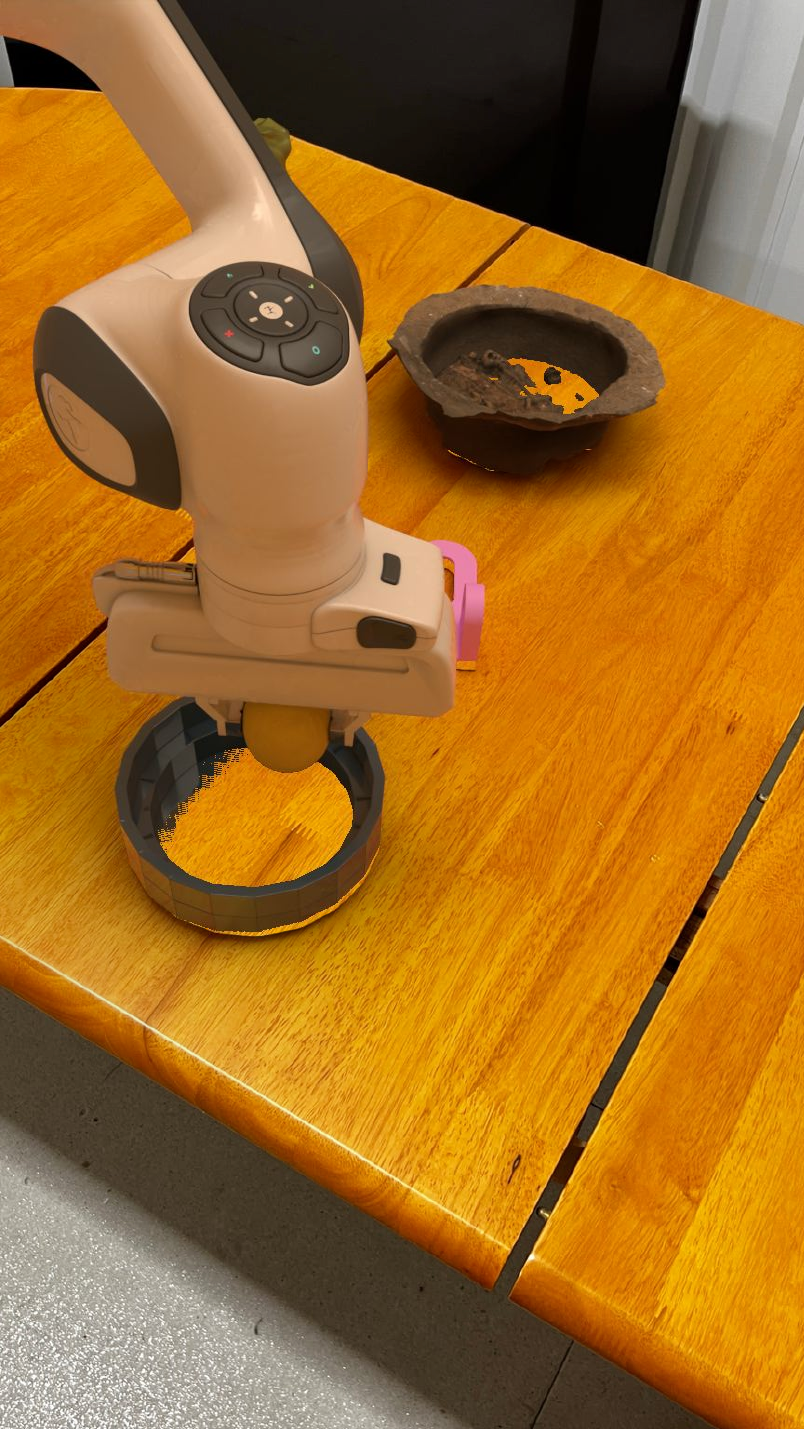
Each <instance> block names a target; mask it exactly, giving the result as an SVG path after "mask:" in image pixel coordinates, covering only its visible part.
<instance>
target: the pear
mask: <svg viewBox="0 0 804 1429" xmlns="http://www.w3.org/2000/svg"><path fill="white" fill-rule="evenodd" d="M252 121H253V122H254V124H255V126H256V127H257V129H258V130H259V132H260V133H261V135H262V137H263V138H264V140H265V141H266V143H267V145H268V146H269V148H270V149H271V151H272V152H273V154H274V155H275V157H276V159H277V160H278V162H279V163H280V165H281V166H282V167H283V169H284V170H285V172H286V173H287V174H288V176H289V177H290V179H291V180H292V178H291V176H290V173H289V172H288V170H287V164H286V163H287V160H288V158H289V157H290V155H291V152H292V149H293V148H292V141H291V136H290V135H291V134H290V131H289V129H287V128H285V127H284V126H282V125H281V124H280V123H278V122H276V121H275V120H273V119H272V118H270V117H267V118H262V117H258V118H256V119H255V120H252Z"/></svg>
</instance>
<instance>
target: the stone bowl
mask: <svg viewBox="0 0 804 1429" xmlns="http://www.w3.org/2000/svg"><path fill="white" fill-rule="evenodd" d="M392 335H393V338H392V339H386V340H385V342H386V343H387V344H388V346H389V347H390V349H391V350H392V351H393V353H395V355H396V356H397V358H398V360H399V362H400V363H401V364H402V367H403V368H404V370H405V371H406V373H407V374H408V376H409V377H410V378H411V379H412V381H413V383H414V384H415V385H416V387H417V388H418V389H419V391H420V392H421V393H423V398H424V403H425V410H426V414H427V416H428V418H429V420H430V422H432V424H433V425H434V428H436V430H438V433H440V436H441V439H442V446H443V448H444V447H445V448H446V449H447V450H450V451H451V452H453V453H455V454H457V455H459V456H461V457H463V458H466V459H468V460H469V461H472V462H473V463H476V464H477V465H476V466H478V465H479V466H480V467H479V466H478V467H479V468H481V467H483V468H487V469H489V470H494V471H496V472H502V471H503V472H505V473H509V474H513V475H521V476H525V475H530V474H536V473H539V472H541V471H542V469H543V468H544V466H545V464H546V463H547V462H548V461H549V460H556V461H567V460H569V459H570V458H572V457H573V456H577V455H579V454H581V453H582V452H584V451H586V450H585V449H593V450H595V449H596V448H597V447H598V446H600V444H601V442H602V441H603V438H604V436H605V434H606V433H607V430H608V428H609V426H610V424H611V421H612V420H615V419H622V418H624V417H627V416H630V415H633V414H637V413H639V412H641V411H644V410H646V409H649V408H651V407H653V406H655V405H657V404H658V403H659V402H658V401H657V400H656V399H657V398H658V397H660V394H658V393H659V392H660V391H661V390H663V389H665V387H666V378H665V376H664V371H663V370H664V369H663V368H662V364H661V363H660V361H659V357H658V349H657V348H656V347H655V346H654V345H653V343H652V342H651V341H650V340H649V339H647V337H646V335H645V334H644V333H643V331H641V330H640V329H638V328H637V326H636V324H634V323H633V322H632V321H631V320H628V319H626V318H623V317H621V316H618V315H615V314H614V313H613V312H612V311H610V310H608V309H606V308H604V307H602V306H599V305H597V304H594V303H590V302H588V301H585V300H584V299H581V298H577V297H571V296H569V295H567V294H563V293H560V292H556V291H552V290H549V289H545V288H540V287H536V286H518V287H515V286H514V287H509V286H508V285H507V284H500V285H495V284H493V285H492V284H485V283H482V284H479V285H473V286H467V287H462V288H457V289H454V290H453V291H448V292H442V293H441V292H440V293H432V294H430V295H428V296H427V297H425V298H423V299H421V300H420V301H419V302H416V303H415V304H414V305H412V306H410V308H408V309H407V311H406V312H405V314H404V316H403V320H402V321H401V322H400V323H399V324H398V326H397V327H396V330H395V332H393V333H392ZM512 358H515V359H520V358H522V359H527V360H534V361H540V362H546V363H547V364H549V365H553V366H556V367H560V368H562V369H563V370H567V371H570V373H572V374H577V375H578V376H580V377H581V378H583V379H584V380H585V381H586V382H587V383H588V384H589V385H590V386H591V387H592V388H594V389H595V391H596V392H597V393H598V394H599V397H597V398H596V399H593V400H591V401H590V402H588V403H587V404H586V405H585V406H584V407H583V408H578V409H575V410H574V412H575V413H571V414H563V411H564V408H563V407H564V406H562V405H555V404H553V403H552V397H551V396H549V395H541V394H538V392H537V393H535V394H536V395H533V394H531V393H530V392H529V391H528V390H527V389H526V388H525V387H524V386H525V385H527V387H534V388H537V387H536V386H535V385H536V384H535V382H533V381H532V380H531V378H530V377H529V376H528V374H527V373H526V372H525V368H524V367H523V366H521V365H520V364H516V365H511V364H510V363H509V362H508V361H507V360H509V359H512ZM560 374H561V372H560V371H558V370H556V369H555V368H554V367H549V368H547V369H546V371H545V373H544V381H545V382H546V384H548V385H551V384H559V383H561V376H560ZM489 377H490V378H498V380H491V379H490V378H489ZM521 391H524V392H523V393H525V395H527V396H522V394H521V395H520V392H521ZM575 397H576V399H578V401H583V400H584V398H583V397H582V396H581V395H579V394H578V393H576V395H575ZM599 443H600V444H599ZM595 447H596V448H595ZM445 448H444V449H445ZM446 449H445V450H446ZM463 458H462V459H463ZM483 468H482V469H483Z"/></svg>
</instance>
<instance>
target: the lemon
mask: <svg viewBox="0 0 804 1429" xmlns="http://www.w3.org/2000/svg"><path fill="white" fill-rule="evenodd" d="M330 722H331V713H330V709H326V708H314V707H303V706H291V705H279V704H268V703H256V702H246V703H245V705H244V709H243V718H242V730H243V734H244V738H245V742H246V745H247V747H248V749H249V750H250V752H251V753H252V755H253V756H254V758H255V759H256V760H257V761H258V762H260V763H261V764H262V765H263V766H265V767H267V768H269V769H271V770H273V771H277V772H281V773H293V772H299V771H302V770H304V769H307V768H308V767H310V766H312V765H313V764H314V763H316V762H317V761H318V760H319V758H320V757H321V756H322V755H323V754H324V752H325V750H326V748H327V746H328V744H329V740H330V737H329V730H330Z"/></svg>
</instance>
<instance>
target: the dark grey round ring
mask: <svg viewBox="0 0 804 1429" xmlns="http://www.w3.org/2000/svg"><path fill="white" fill-rule="evenodd" d="M244 703H246V702H244ZM330 713H331V714H332V709H330ZM237 748H238V749H241V748H248V747H247V745H246V742H245V738H244V734H243V736H242V737H239V736H222V735H218V728H217V720H214V719H213V718H212V717H211V716H210V715H208V714H207V713H206V712H205V711H204V710H203V709H202V708H201V707H200V706H199V705H197V704H196V700H195V697H185V696H180V697H178V698H176V699H174V700H172V701H171V702H170V703H168V704H167V705H166V706H164V707H163V708H162V709H160V710H159V711H158V712H157V713H155V714H154V715H153V716H151V717H150V718H149V719H147V720H146V721H145V722H144V723H143V724H142V725H141V726H140V728H139V729H138V731H137V732H136V734H135V736H133V738H132V740H131V741H130V742H129V744H128V745H127V746H126V749H125V750H124V752H122V756H121V760H120V764H119V768H118V772H117V776H116V780H115V782H114V790H113V791H114V795H115V796H114V797H115V802H116V809H117V816H118V822H119V823H118V824H119V826H120V831H121V835H122V838H123V842H124V848H125V850H126V854H127V858H128V864H129V866H130V867H131V869H132V871H133V872H134V874H135V876H136V878H137V879H138V881H139V882H140V884H141V886H142V888H143V890H144V891H145V893H146V895H148V897H149V898H151V899H152V898H153V899H154V900H153V899H152V900H153V901H154V902H156V901H157V902H158V903H159V904H158V903H157V902H156V903H157V904H158V905H159V906H161V905H162V906H163V907H164V908H165V909H164V908H163V907H162V906H161V907H162V908H163V909H164V910H166V909H167V910H168V911H169V912H171V913H172V914H173V915H175V916H176V917H178V918H179V919H182V920H186V921H187V922H192V923H194V924H197V925H200V926H202V927H205V928H209V929H211V930H214V931H215V930H216V931H222V932H224V931H233V932H237V931H239V932H244V931H245V932H262V931H263V930H267V929H269V930H270V929H272V928H276V927H280V926H284V925H290V924H293V923H297V922H298V923H299V922H302V921H304V920H306V919H308V918H309V917H311V916H313V915H315V914H316V913H318V912H321V911H323V910H325V909H328V908H329V907H331V906H333V905H335V904H336V903H338V901H339V900H340V899H342V897H343V896H345V895H346V894H347V893H348V892H349V891H350V889H352V888H353V887H354V886H355V885H356V884H357V883H358V882H359V881H360V880H361V879H362V878H363V877H364V875H365V874H366V872H367V870H368V868H369V866H370V864H371V862H372V860H373V858H374V856H375V854H376V852H377V850H378V848H379V846H380V847H381V841H382V830H383V819H384V818H383V817H384V804H385V803H384V802H385V789H386V773H385V770H384V767H383V763H382V760H381V756H380V753H379V750H378V746H377V744H376V742H375V741H374V740H373V739H372V737H371V736H370V735H369V733H368V732H367V730H366V729H365V728H364V727H363V725H362V726H361V727H360V728H359V729H358V730H357V731H355V732H354V738H353V746H342V745H332V744H328V746H327V748H326V750H325V752H324V754H323V755H322V756H321V757H320V758H319V760H318V761H317V762H319V763H321V764H322V765H323V766H324V767H326V768H328V769H329V770H331V771H332V772H333V773H334V774H335V775H336V777H337V778H338V780H339V781H340V783H341V784H342V785H343V786H344V788H346V790H347V792H348V795H349V798H350V802H351V805H352V809H353V820H352V827H351V829H350V831H349V833H348V834H347V836H346V838H345V840H344V842H343V844H342V846H341V848H340V850H339V851H338V852H337V853H336V854H335V855H334V856H333V857H332V858H331V859H330V860H329V861H328V862H327V863H326V864H324V865H323V866H321V867H319V868H317V869H315V870H313V871H311V872H309V873H307V874H305V875H303V876H301V877H299V878H297V879H295V880H291V881H285V882H280V883H275V884H270V885H264V886H259V887H246V886H234V885H222V884H212V883H210V882H207V881H204V880H202V879H199V878H196V877H194V876H191V875H189V874H188V873H186V872H185V871H184V870H183V869H181V868H180V867H179V866H177V865H176V864H175V863H174V862H172V861H171V860H170V859H169V858H168V856H167V854H166V853H165V851H164V850H163V848H162V846H163V845H162V846H161V845H160V842H165V841H169V840H164V841H161V839H159V838H161V837H159V836H161V835H164V834H161V833H164V832H161V831H164V830H165V832H171V831H174V830H171V829H175V828H176V823H175V822H176V819H175V817H174V816H175V814H176V815H182V814H186V813H182V812H186V811H182V810H186V809H182V808H185V807H182V806H185V805H182V804H185V803H188V801H192V800H195V799H192V800H188V799H191V798H195V797H191V796H195V795H193V794H195V792H198V791H200V790H199V789H201V788H202V787H205V788H210V787H206V786H210V785H206V784H210V783H206V782H214V781H210V780H214V779H207V780H208V781H206V780H202V779H206V778H202V777H206V776H202V775H207V776H208V777H207V778H210V777H209V776H214V774H216V775H221V774H217V773H221V772H217V771H222V770H218V769H222V768H218V767H214V766H218V765H214V764H218V763H214V762H221V763H227V761H230V760H227V759H230V758H227V757H231V756H228V755H231V754H228V753H236V752H231V751H236V750H232V749H237ZM225 750H226V751H225ZM228 750H230V751H228ZM241 750H244V749H241ZM224 752H228V753H224ZM239 752H244V751H240V750H239ZM224 754H227V755H224ZM237 754H240V753H237ZM241 754H243V753H241ZM215 755H216V756H215ZM232 755H235V754H232ZM247 755H248V754H247ZM223 756H225V757H223ZM235 756H239V755H235ZM235 756H234V758H239V757H235ZM242 756H243V755H242ZM215 757H216V758H215ZM219 758H220V759H219ZM223 758H224V759H223ZM232 760H235V759H232ZM236 760H239V759H236ZM204 762H205V763H204ZM231 762H234V761H231ZM236 762H239V761H236ZM211 763H212V764H211ZM203 764H204V765H203ZM220 765H222V764H220ZM223 765H226V764H223ZM228 766H229V765H228ZM219 767H222V766H219ZM223 767H224V766H223ZM214 768H218V769H214ZM227 768H229V767H227ZM214 770H217V771H214ZM214 772H216V773H214ZM225 772H226V771H225ZM225 774H226V773H225ZM199 776H200V777H199ZM216 777H217V776H216ZM211 778H214V777H211ZM202 781H206V782H202ZM202 783H206V784H202ZM202 785H206V786H202ZM213 787H214V786H213ZM195 788H198V789H195ZM195 790H198V791H195ZM205 790H206V789H205ZM198 793H199V792H198ZM198 795H199V794H198ZM188 797H191V798H188ZM198 797H199V796H198ZM198 799H199V798H198ZM182 802H185V803H182ZM192 802H195V801H192ZM178 803H179V804H178ZM178 805H180V806H178ZM186 805H188V804H186ZM178 807H180V808H178ZM186 807H188V806H186ZM178 809H181V810H178ZM187 809H188V808H187ZM178 811H181V812H178ZM187 812H188V810H187ZM179 813H182V814H179ZM169 815H170V816H169ZM169 817H171V818H169ZM176 817H179V816H176ZM382 818H383V819H382ZM177 819H179V818H177ZM178 821H179V820H178ZM166 822H167V823H166ZM166 824H167V825H166ZM174 827H175V828H174ZM167 828H168V829H167ZM161 829H164V830H161ZM381 829H382V830H381ZM158 830H159V831H158ZM167 830H170V831H167ZM158 832H160V833H158ZM171 833H174V832H171ZM171 833H170V834H171ZM158 834H161V835H158ZM166 834H168V833H166ZM173 835H174V834H173ZM168 836H171V835H167V836H165V837H168ZM162 837H164V836H162ZM168 838H172V837H168ZM163 839H165V838H163ZM170 840H172V839H170ZM380 840H381V841H380ZM171 842H172V841H171ZM161 844H162V843H161ZM165 850H167V849H165ZM166 852H167V851H166ZM167 910H166V911H167ZM168 911H167V912H168ZM169 912H168V913H169ZM171 913H170V914H171ZM172 914H171V915H172ZM173 915H172V916H173ZM176 917H175V918H176ZM179 919H178V920H179ZM187 922H186V923H187Z"/></svg>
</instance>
